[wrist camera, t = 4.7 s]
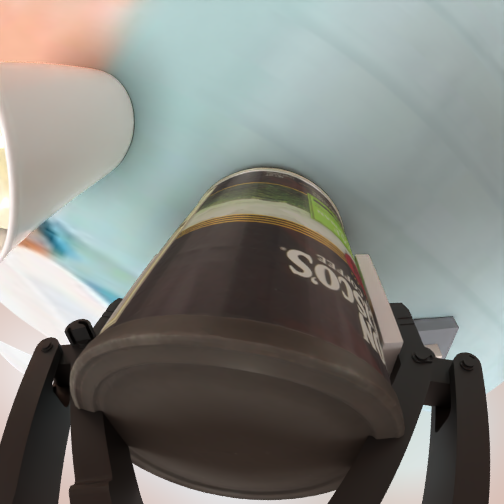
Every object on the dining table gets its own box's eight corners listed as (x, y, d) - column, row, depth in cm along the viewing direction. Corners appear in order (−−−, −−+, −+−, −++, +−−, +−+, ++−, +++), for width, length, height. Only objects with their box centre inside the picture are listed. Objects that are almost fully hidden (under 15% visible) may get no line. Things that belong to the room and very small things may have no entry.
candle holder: (127, 36, 15) (-12, 13, 5) (162, 168, 20) (48, 254, 9) (29, 93, 17) (-92, 124, 7) (61, 201, 22) (-44, 279, 11)
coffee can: (291, 132, 17) (300, 243, 4) (369, 268, 20) (428, 466, 8) (157, 220, 20) (24, 383, 8) (244, 327, 24) (208, 504, 11)
